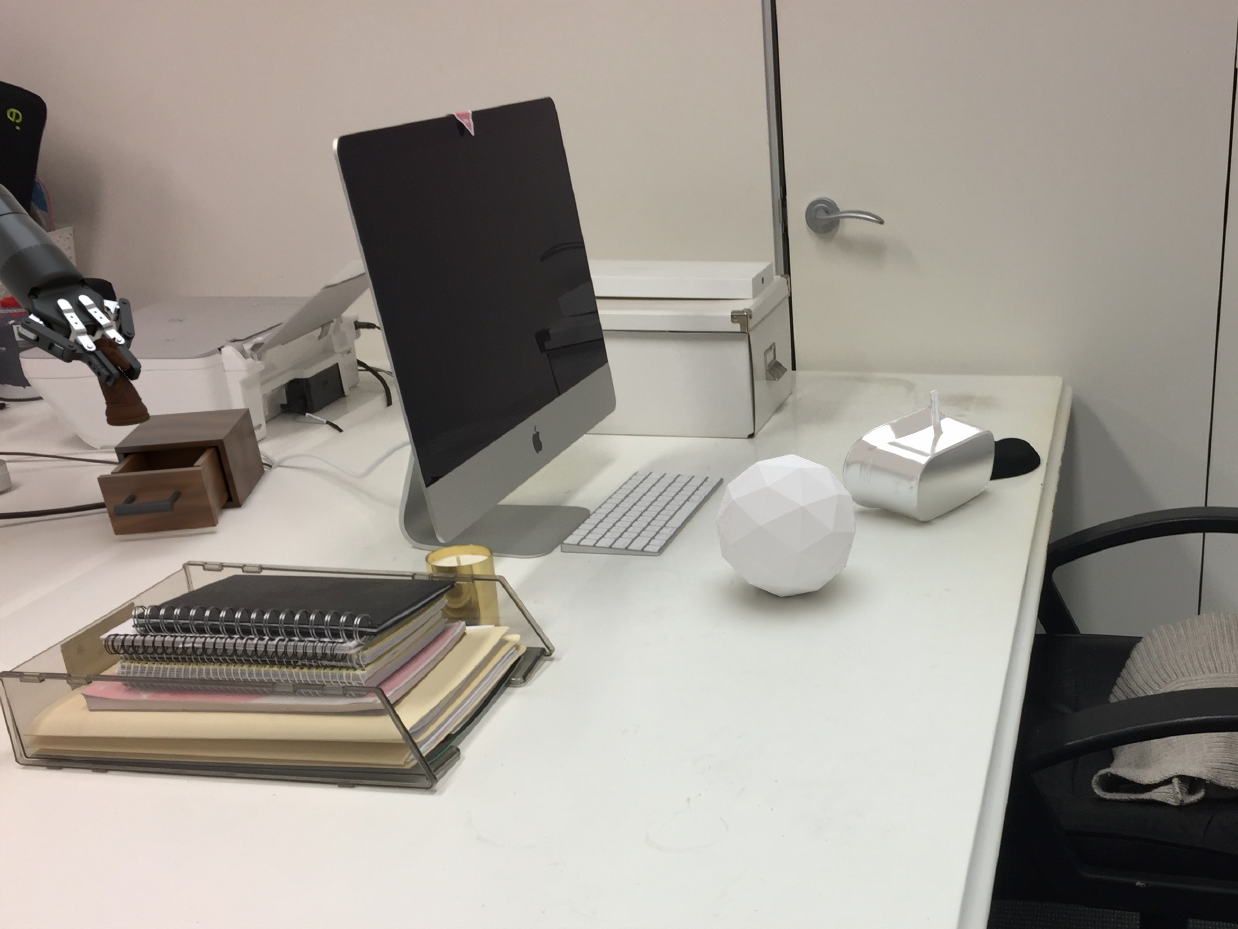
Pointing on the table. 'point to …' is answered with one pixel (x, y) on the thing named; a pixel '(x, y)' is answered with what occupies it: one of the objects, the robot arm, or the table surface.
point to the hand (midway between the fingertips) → (126, 378)
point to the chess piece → (120, 389)
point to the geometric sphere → (786, 525)
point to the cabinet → (205, 444)
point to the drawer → (165, 490)
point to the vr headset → (920, 464)
